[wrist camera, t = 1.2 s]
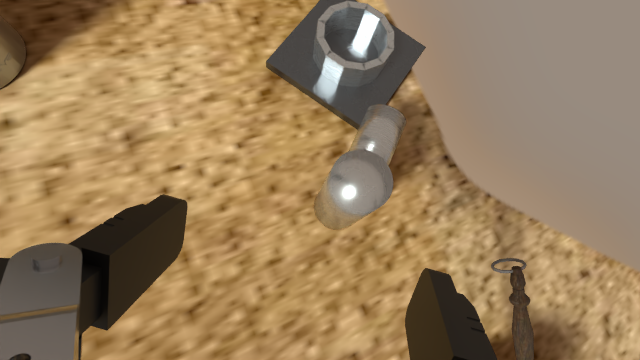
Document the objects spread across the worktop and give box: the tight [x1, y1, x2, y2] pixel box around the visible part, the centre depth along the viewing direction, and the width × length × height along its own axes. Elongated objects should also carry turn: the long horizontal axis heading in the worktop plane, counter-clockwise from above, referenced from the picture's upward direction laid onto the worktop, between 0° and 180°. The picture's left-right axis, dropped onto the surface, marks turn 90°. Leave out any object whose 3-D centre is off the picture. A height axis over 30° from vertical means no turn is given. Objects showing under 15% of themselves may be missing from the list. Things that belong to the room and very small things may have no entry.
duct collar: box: [266, 0, 426, 129], centre depth 41 cm, size 14×14×5 cm
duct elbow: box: [314, 104, 406, 230], centre depth 33 cm, size 10×5×11 cm, turn 156°
